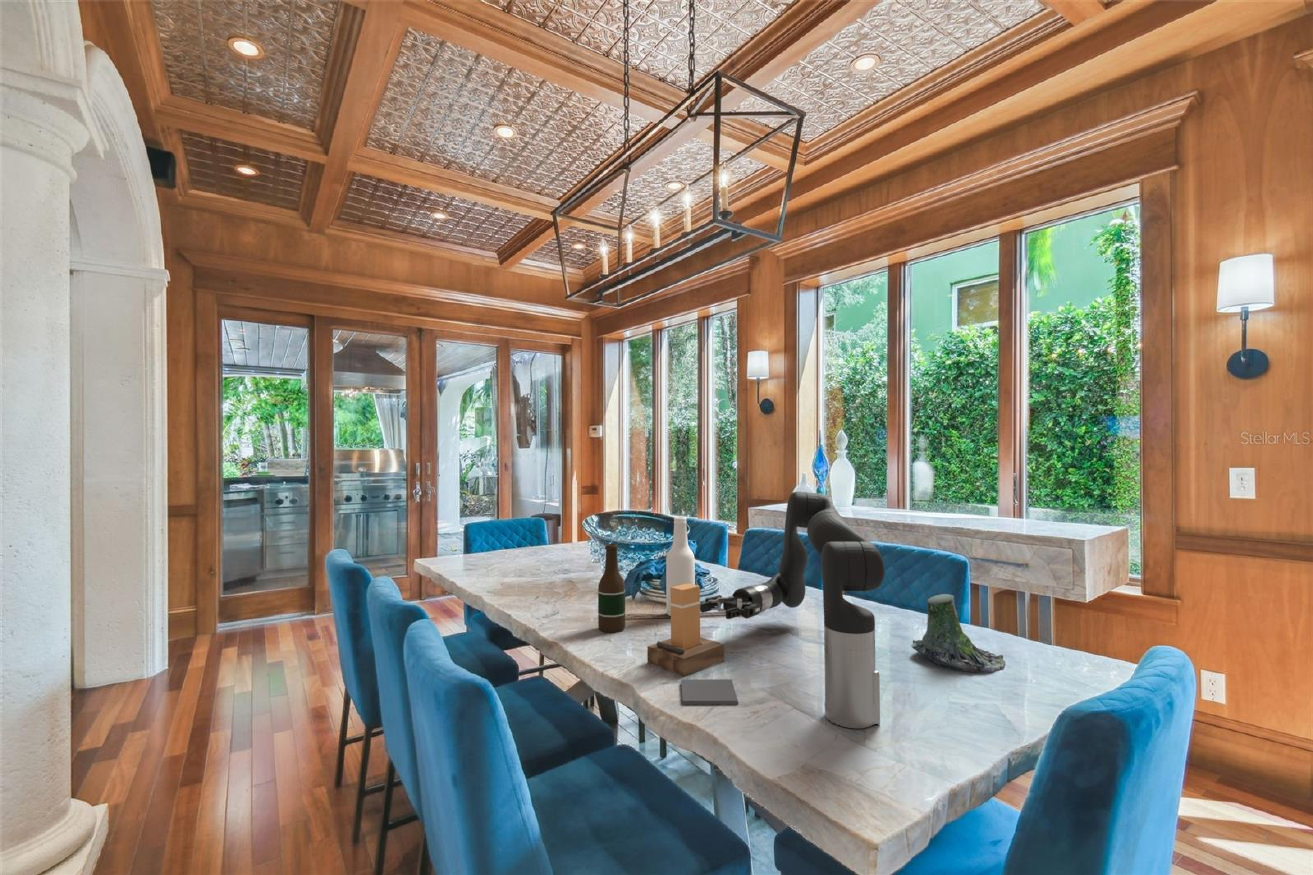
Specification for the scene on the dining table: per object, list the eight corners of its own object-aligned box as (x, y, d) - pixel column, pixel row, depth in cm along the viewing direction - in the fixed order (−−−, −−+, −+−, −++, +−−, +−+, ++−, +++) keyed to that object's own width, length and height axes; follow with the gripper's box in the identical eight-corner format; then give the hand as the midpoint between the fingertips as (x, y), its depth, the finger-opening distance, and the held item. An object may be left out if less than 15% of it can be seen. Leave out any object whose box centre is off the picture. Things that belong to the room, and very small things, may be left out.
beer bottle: (630, 627, 171) (630, 543, 171) (615, 635, 164) (615, 547, 165) (608, 623, 175) (608, 541, 175) (592, 630, 168) (592, 545, 169)
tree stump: (1025, 677, 134) (1005, 600, 133) (936, 696, 135) (916, 620, 135) (985, 645, 152) (968, 578, 152) (907, 663, 153) (890, 596, 153)
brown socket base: (647, 663, 143) (647, 641, 143) (687, 648, 152) (687, 628, 153) (684, 676, 134) (684, 653, 134) (723, 660, 144) (723, 638, 144)
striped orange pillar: (670, 663, 143) (670, 587, 143) (688, 656, 147) (687, 583, 147) (683, 667, 140) (682, 590, 140) (700, 660, 144) (700, 585, 144)
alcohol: (661, 613, 185) (661, 516, 186) (686, 610, 189) (686, 515, 190) (674, 620, 177) (673, 519, 178) (700, 617, 181) (699, 518, 182)
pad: (731, 683, 130) (731, 679, 130) (737, 704, 119) (737, 700, 119) (681, 683, 130) (681, 679, 130) (682, 704, 119) (682, 700, 119)
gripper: (731, 582, 167) (692, 592, 156) (774, 590, 157) (735, 601, 146) (731, 609, 167) (692, 620, 156) (774, 619, 157) (736, 632, 146)
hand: (713, 611), depth 151 cm, fingers open, 8 cm apart
